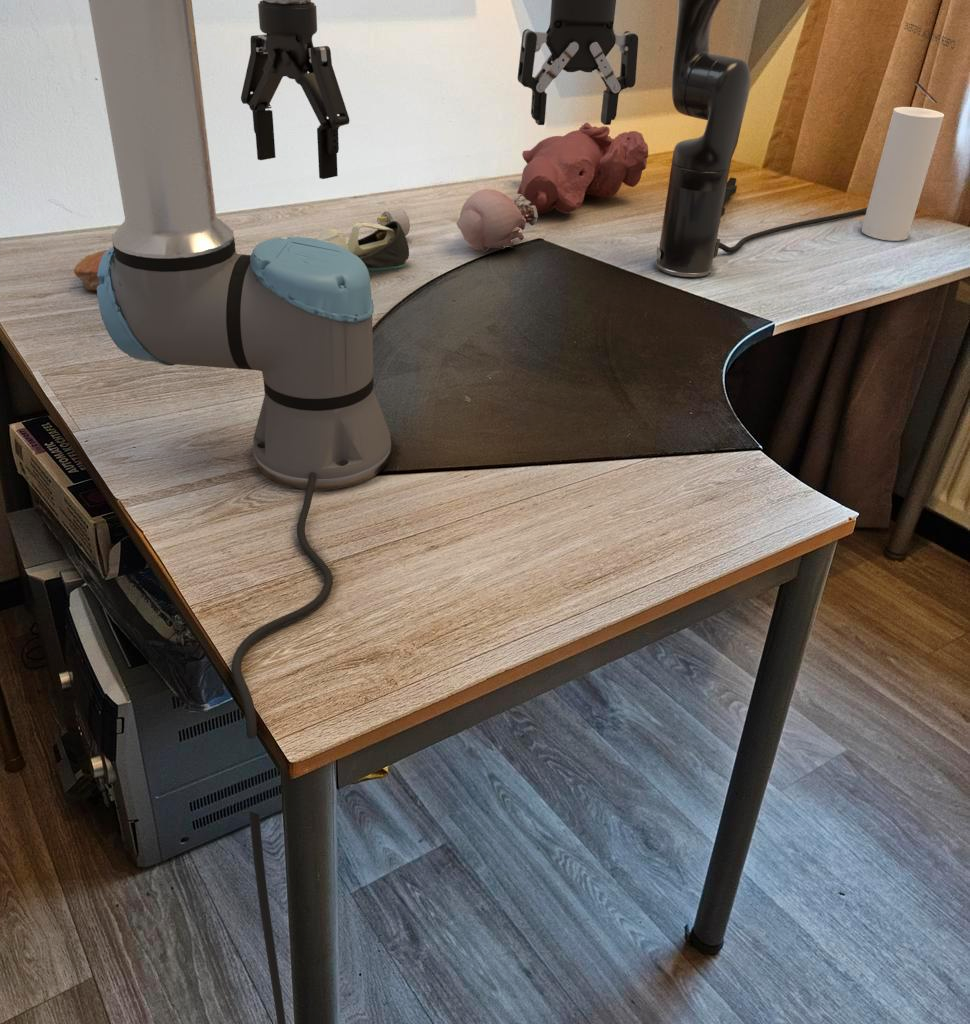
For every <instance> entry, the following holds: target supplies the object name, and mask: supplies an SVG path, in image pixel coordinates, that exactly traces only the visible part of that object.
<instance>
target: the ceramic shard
mask: <svg viewBox="0 0 970 1024" xmlns="http://www.w3.org/2000/svg"><path fill="white" fill-rule="evenodd" d="M107 250H108V249H104V250H102V251H101V250H100V251H98V252H95V253H91V254H88V255H86V256H85V257H83V259H81V260H80V261H79V262H77V264H76V266H75V267H74V269H73V273H74V275H75V276H76V277H77V278H79V279H80V280H81V282H82V283H83V285H84V286H85V288H86V289H87V290H88V291H97V286H98V285H100V282H99V279H98V277H97V273H98V267H99V263H100V261H101V259H102V256H103V255H104V254H105V252H106V251H107Z"/></svg>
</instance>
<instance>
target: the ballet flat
mask: <svg viewBox="0 0 970 1024" xmlns="http://www.w3.org/2000/svg"><path fill="white" fill-rule="evenodd" d="M362 227H363V228H364V227H365V228H370V229H373V230H375V231H373V232H372V233H370V234H369V235H367V236H364V237H362V238H359V234H360V229H361V228H362ZM315 239H316V240H321V241H325V242H329V243H333V244H335V245H338V246H341V247H343V248H345V249H347V250H349V251H351V252H352V253H353V254H354V255H356V256H357V257H359V258H360V259H361V260H362V261H363V263H364V264H365V265H366V267H367V269H368V271H383V270H384V271H385V270H393V269H399V268H403V267H405V266H406V262H407V260H409V256H410V247H409V244H408V239H407V237H406V236H405V234H404V232H403V230H402V228H401V225H400V224H399V223H398V222H397V221H392V222H390V223H388V224H386V225H385V226H381V225H380V224H378V223H377V224H376V223H371V222H357V223H354V224H353V226H352V228H351V232H350V235H349V238H348V242H347V239H346V236H345V235H344V234H343V232H341V231H340V230H337V229H334V228H328V227H325V228H324V229H323V230H322V231H321V232H320V233H319V234H318V235H317V236H316V238H315Z"/></svg>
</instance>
